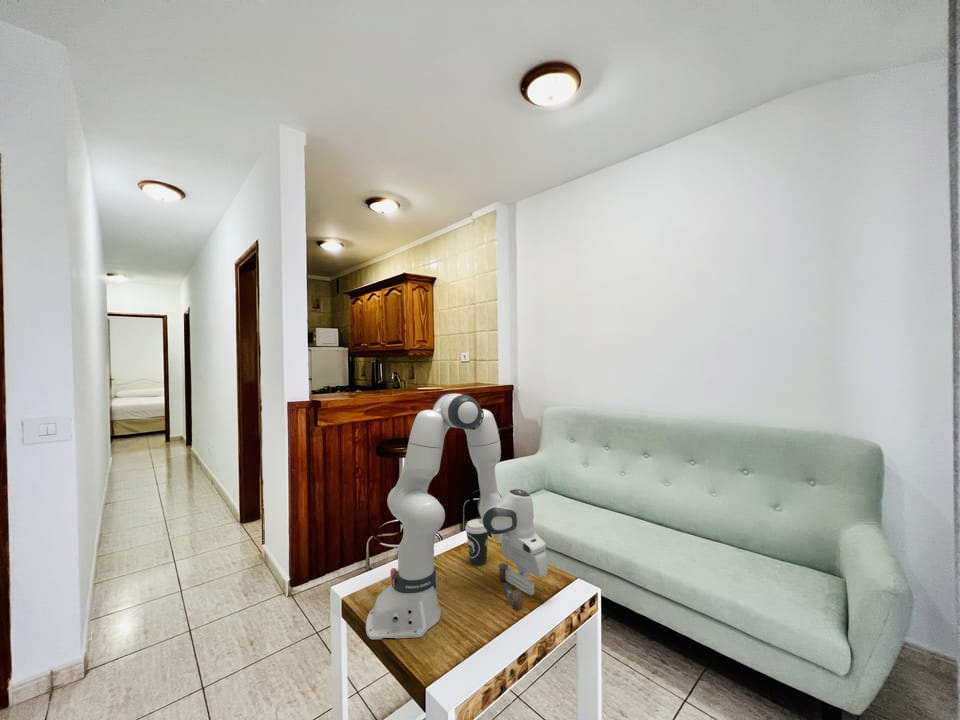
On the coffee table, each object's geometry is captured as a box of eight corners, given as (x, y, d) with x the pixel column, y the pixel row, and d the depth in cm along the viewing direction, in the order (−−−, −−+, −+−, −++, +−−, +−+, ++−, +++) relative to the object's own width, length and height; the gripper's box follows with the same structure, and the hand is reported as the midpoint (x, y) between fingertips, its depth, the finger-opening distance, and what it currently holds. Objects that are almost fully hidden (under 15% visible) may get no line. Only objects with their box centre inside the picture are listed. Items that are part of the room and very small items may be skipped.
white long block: (505, 580, 134) (505, 569, 134) (508, 578, 135) (508, 567, 135) (530, 595, 124) (530, 583, 125) (534, 593, 126) (533, 582, 126)
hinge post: (500, 583, 134) (499, 568, 134) (497, 578, 137) (497, 564, 137) (509, 581, 134) (509, 567, 135) (506, 576, 138) (506, 562, 138)
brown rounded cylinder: (512, 611, 118) (511, 596, 118) (507, 601, 124) (507, 586, 124) (523, 609, 119) (522, 594, 119) (517, 599, 124) (517, 584, 124)
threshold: (510, 600, 124) (510, 599, 124) (502, 585, 133) (502, 584, 133) (517, 599, 124) (517, 598, 124) (509, 584, 133) (509, 583, 133)
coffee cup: (488, 569, 143) (486, 529, 144) (463, 567, 145) (462, 527, 146) (492, 556, 153) (491, 518, 153) (469, 554, 155) (468, 517, 155)
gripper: (496, 530, 137) (497, 569, 137) (535, 551, 120) (537, 595, 120) (509, 525, 141) (511, 563, 141) (549, 545, 124) (551, 588, 124)
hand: (523, 578), depth 130 cm, fingers closed
